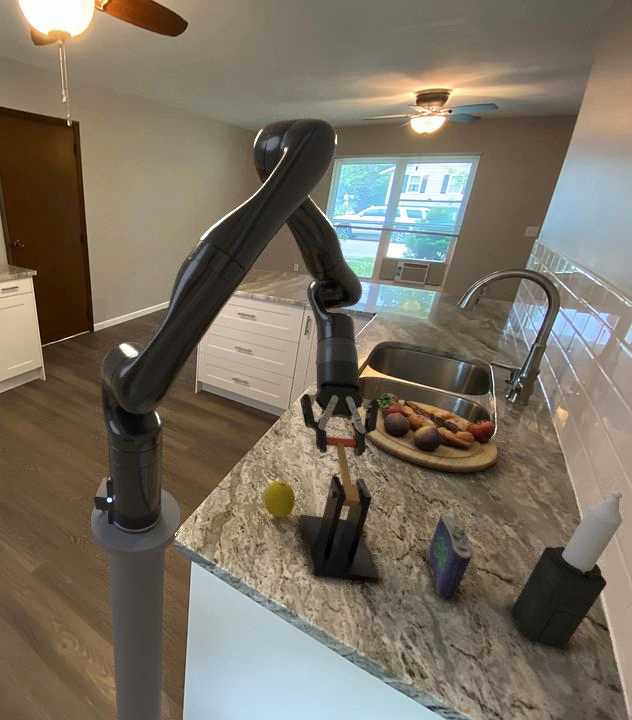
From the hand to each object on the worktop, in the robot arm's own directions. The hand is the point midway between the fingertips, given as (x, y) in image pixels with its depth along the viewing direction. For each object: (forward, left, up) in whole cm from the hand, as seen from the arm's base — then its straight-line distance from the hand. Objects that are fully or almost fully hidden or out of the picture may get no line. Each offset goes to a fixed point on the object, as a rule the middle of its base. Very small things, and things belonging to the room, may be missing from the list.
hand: (340, 453), depth 69 cm
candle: (+26, -17, -15) cm, 35 cm away
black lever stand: (0, -7, -15) cm, 17 cm away
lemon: (-10, -1, -15) cm, 18 cm away
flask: (+16, -10, -15) cm, 24 cm away
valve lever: (0, -2, -2) cm, 3 cm away
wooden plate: (+32, +34, -15) cm, 49 cm away
